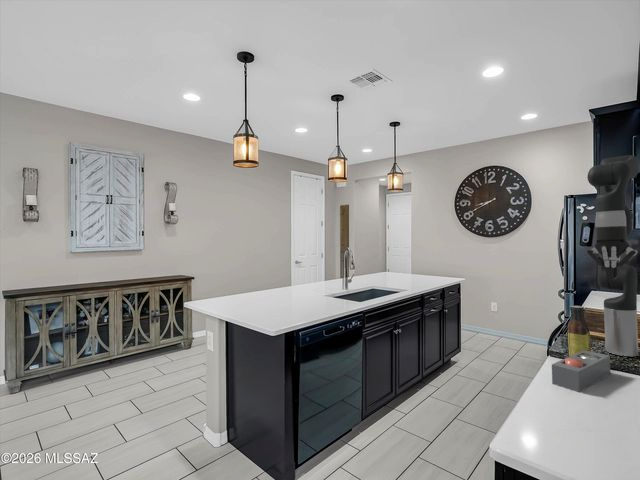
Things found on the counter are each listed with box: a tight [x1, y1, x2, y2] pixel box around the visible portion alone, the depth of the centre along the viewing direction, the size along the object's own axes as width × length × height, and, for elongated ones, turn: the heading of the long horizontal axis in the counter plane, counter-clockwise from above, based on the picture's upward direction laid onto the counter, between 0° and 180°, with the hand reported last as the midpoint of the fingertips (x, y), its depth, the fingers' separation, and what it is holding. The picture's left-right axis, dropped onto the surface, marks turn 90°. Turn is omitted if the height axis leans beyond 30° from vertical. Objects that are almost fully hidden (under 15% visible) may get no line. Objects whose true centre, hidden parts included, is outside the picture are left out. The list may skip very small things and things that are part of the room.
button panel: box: [551, 350, 611, 393], centre depth 106 cm, size 22×7×6 cm, turn 121°
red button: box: [564, 357, 583, 368], centre depth 103 cm, size 4×4×5 cm
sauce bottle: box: [567, 305, 592, 357], centre depth 119 cm, size 7×6×20 cm
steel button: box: [580, 354, 597, 361], centre depth 108 cm, size 4×4×5 cm
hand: (612, 278), depth 108 cm, fingers closed
